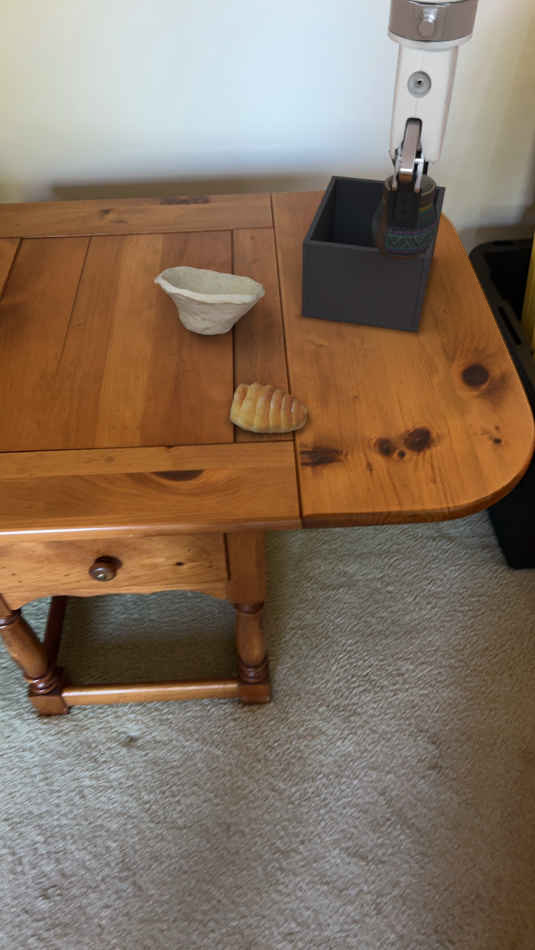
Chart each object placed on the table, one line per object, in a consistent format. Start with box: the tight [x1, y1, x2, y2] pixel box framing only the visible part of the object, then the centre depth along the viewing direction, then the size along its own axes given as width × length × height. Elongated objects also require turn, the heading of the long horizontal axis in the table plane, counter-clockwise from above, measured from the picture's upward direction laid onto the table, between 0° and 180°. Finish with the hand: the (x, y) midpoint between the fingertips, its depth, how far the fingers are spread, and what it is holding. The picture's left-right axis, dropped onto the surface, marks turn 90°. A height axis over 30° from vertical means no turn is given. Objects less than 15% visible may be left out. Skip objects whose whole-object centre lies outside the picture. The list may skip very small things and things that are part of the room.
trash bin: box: [301, 175, 447, 333], centre depth 95 cm, size 17×19×12 cm
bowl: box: [153, 265, 266, 336], centre depth 91 cm, size 15×14×10 cm
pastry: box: [229, 381, 309, 434], centre depth 81 cm, size 9×7×4 cm
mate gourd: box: [372, 150, 438, 261], centre depth 72 cm, size 7×8×10 cm
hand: (405, 206), depth 72 cm, fingers closed on mate gourd, 6 cm apart
